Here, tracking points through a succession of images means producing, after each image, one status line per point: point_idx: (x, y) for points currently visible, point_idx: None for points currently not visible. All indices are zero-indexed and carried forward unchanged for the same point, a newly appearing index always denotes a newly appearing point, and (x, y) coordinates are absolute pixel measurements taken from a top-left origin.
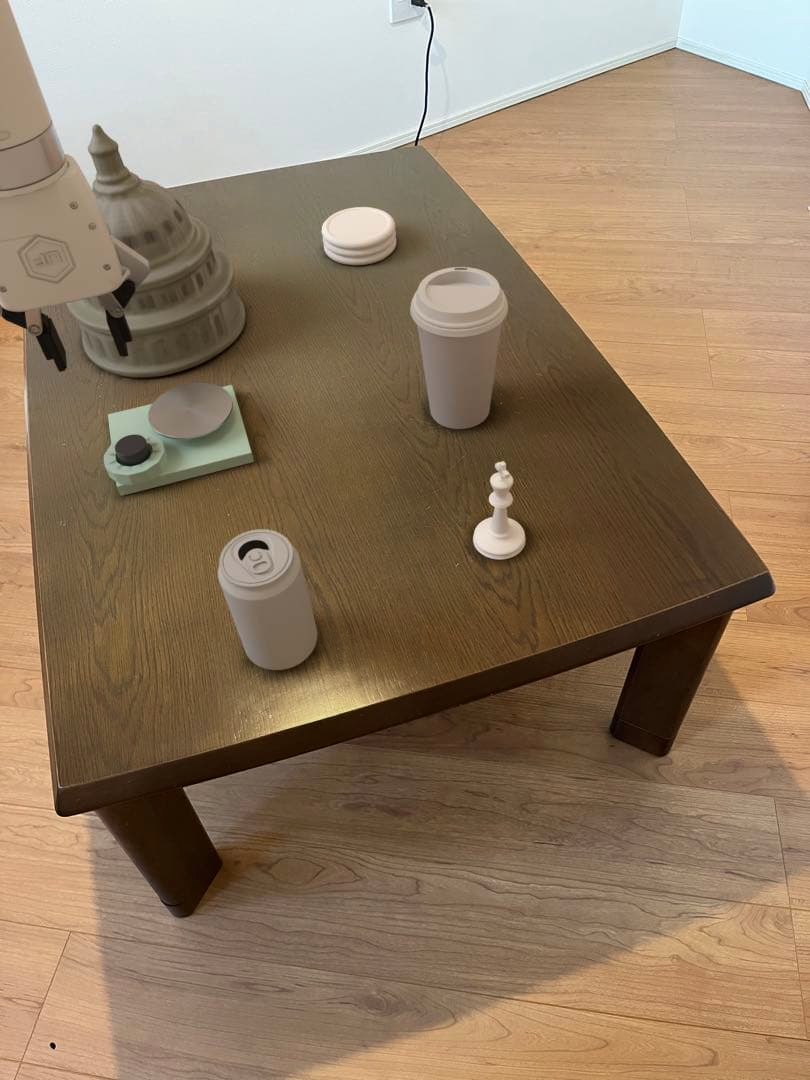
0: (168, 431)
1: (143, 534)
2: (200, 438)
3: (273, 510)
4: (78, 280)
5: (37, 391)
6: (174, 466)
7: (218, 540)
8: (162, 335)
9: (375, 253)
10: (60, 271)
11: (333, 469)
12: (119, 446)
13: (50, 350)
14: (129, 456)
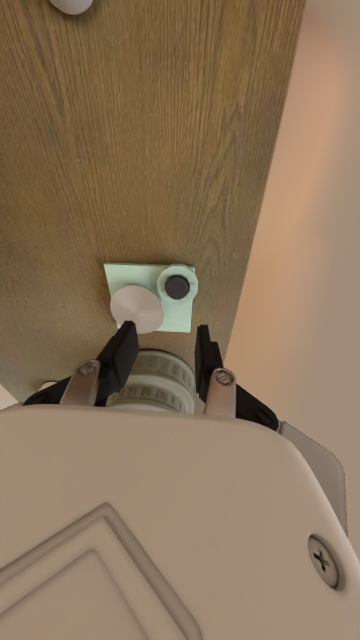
0: (152, 296)
1: (186, 218)
2: None
3: (91, 203)
4: (36, 486)
5: None
6: (155, 271)
7: (132, 184)
8: (146, 369)
9: (47, 385)
10: (47, 587)
11: (51, 231)
12: (184, 291)
13: (209, 344)
14: (179, 278)
